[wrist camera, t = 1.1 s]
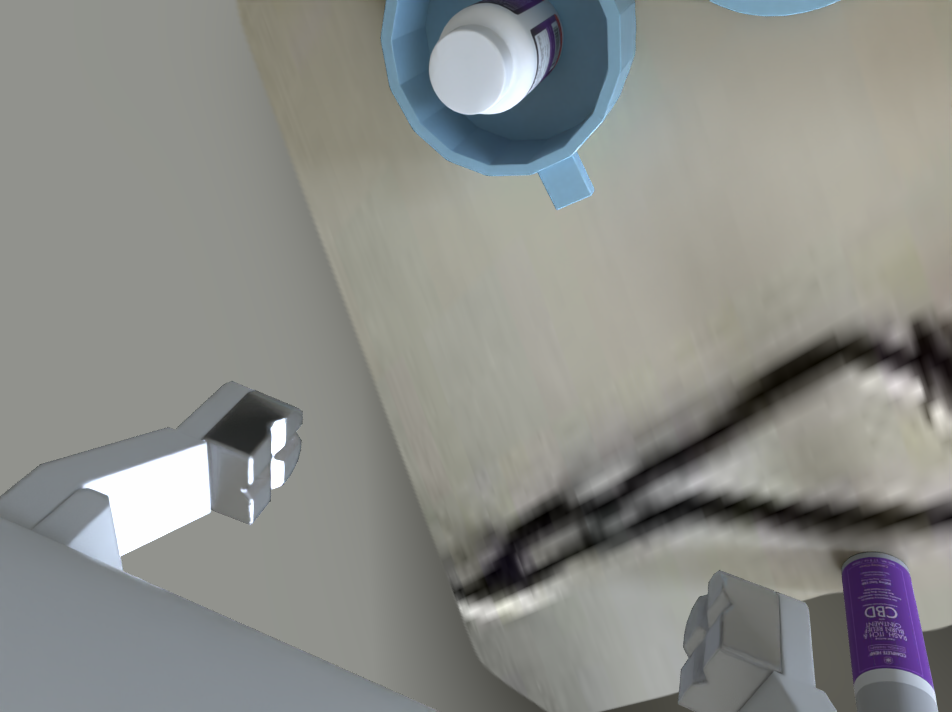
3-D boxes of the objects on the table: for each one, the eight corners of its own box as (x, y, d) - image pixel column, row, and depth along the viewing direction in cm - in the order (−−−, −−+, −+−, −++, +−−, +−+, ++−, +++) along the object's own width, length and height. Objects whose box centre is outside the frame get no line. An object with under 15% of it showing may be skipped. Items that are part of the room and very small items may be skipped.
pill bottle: (460, 36, 43) (394, 70, 35) (520, -36, 39) (462, -16, 32) (521, 104, 44) (469, 151, 36) (584, 39, 40) (542, 76, 33)
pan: (549, -211, 35) (521, -223, 31) (690, 133, 42) (681, 160, 37) (356, -58, 42) (311, -52, 38) (502, 215, 48) (477, 247, 44)
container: (885, 543, 53) (919, 733, 41) (923, 582, 53) (967, 780, 42) (828, 564, 55) (845, 747, 44) (864, 600, 56) (891, 790, 44)
